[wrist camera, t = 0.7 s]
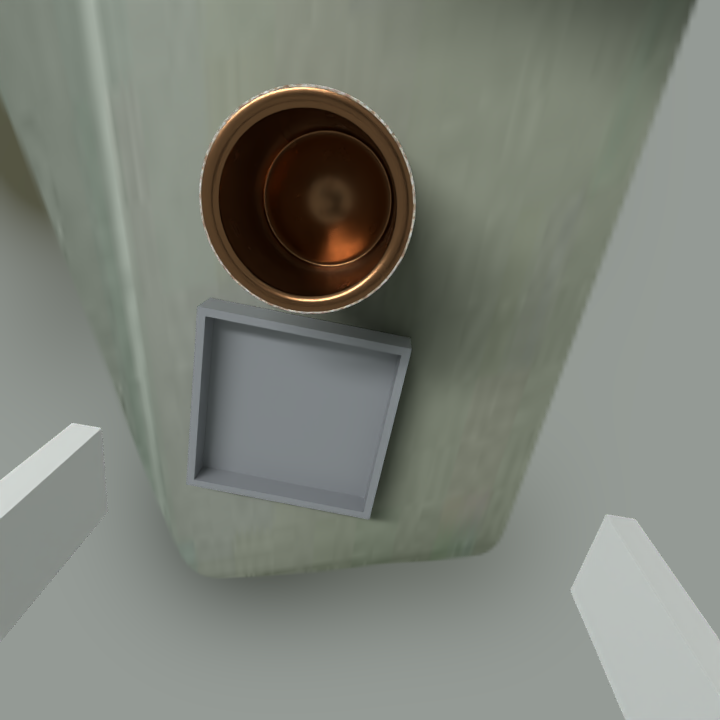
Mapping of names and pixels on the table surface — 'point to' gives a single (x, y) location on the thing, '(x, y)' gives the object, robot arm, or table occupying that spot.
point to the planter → (307, 198)
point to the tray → (292, 407)
